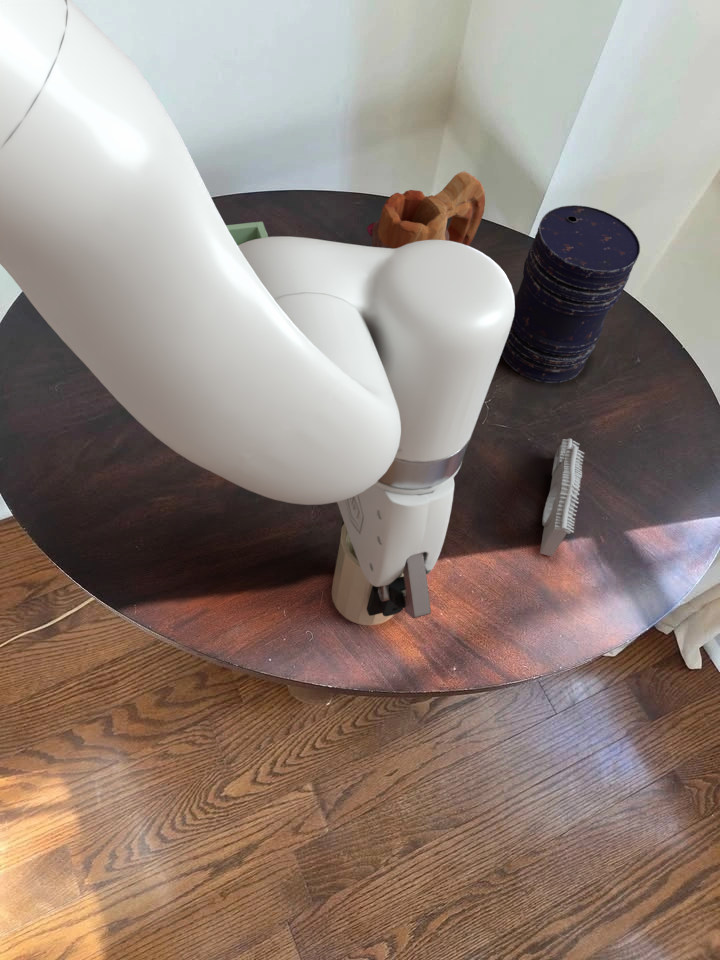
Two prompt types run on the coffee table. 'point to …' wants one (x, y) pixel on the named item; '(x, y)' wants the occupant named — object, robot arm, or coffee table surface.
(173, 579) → the coffee table surface
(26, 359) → the coffee table surface
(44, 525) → the coffee table surface
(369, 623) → the paper cup
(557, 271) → the navy cylinder
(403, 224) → the mug
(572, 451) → the lattice window wall
